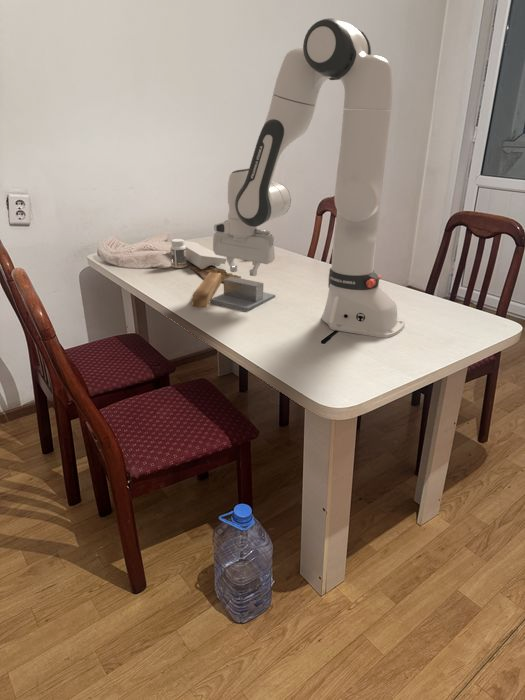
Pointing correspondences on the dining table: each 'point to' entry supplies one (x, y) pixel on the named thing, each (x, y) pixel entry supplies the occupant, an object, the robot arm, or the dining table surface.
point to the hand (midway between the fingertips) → (243, 273)
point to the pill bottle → (178, 253)
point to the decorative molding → (202, 255)
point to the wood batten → (206, 290)
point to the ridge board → (240, 302)
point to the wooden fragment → (205, 272)
